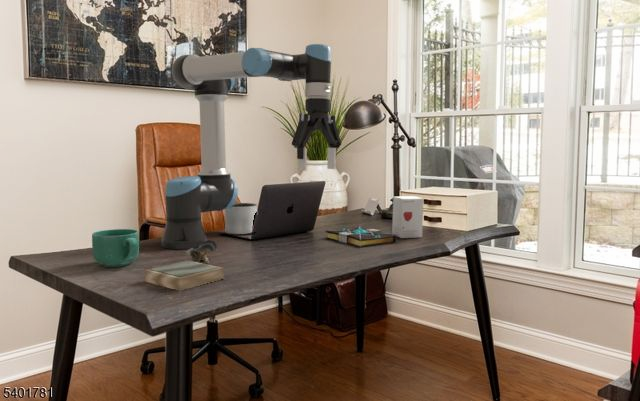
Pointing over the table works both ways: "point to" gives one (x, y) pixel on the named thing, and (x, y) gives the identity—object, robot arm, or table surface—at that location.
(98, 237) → the mug
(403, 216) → the supplement box
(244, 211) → the planter
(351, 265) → the table surface
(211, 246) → the brown animal figurine
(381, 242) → the book
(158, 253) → the table surface
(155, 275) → the pedestal
